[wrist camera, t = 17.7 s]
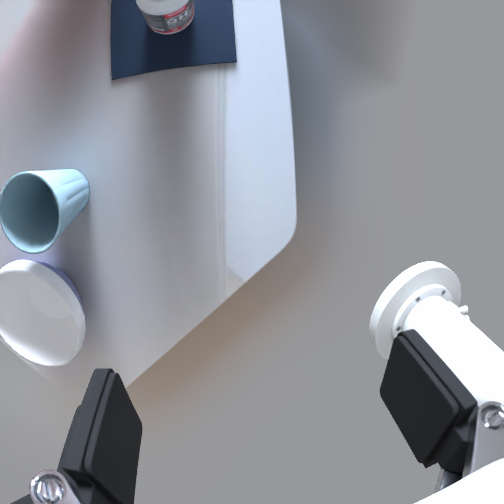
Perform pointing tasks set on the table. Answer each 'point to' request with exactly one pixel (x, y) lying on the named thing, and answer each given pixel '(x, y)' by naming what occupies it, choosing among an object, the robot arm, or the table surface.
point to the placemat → (170, 39)
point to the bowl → (40, 313)
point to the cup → (41, 206)
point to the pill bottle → (167, 14)
